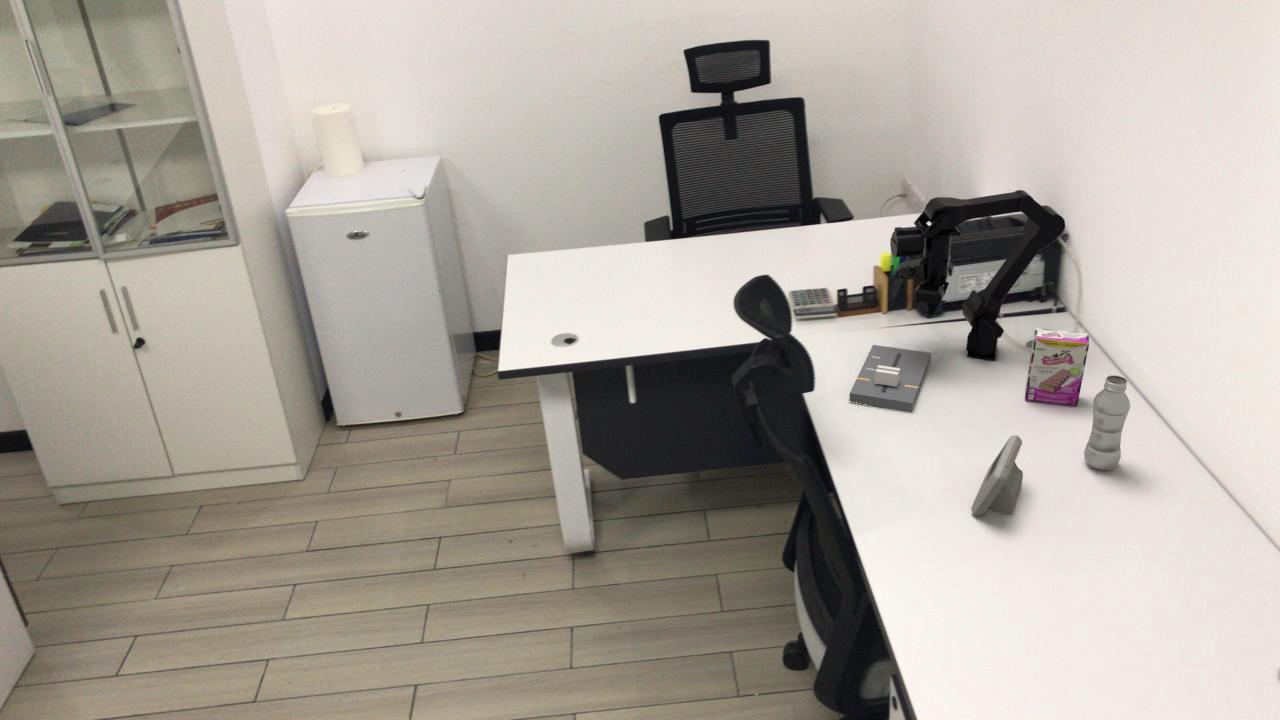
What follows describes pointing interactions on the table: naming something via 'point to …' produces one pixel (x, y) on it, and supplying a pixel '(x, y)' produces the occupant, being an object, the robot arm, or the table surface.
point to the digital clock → (1001, 481)
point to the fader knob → (887, 375)
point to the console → (891, 396)
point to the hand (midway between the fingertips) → (931, 313)
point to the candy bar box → (1056, 367)
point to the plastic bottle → (1107, 424)
